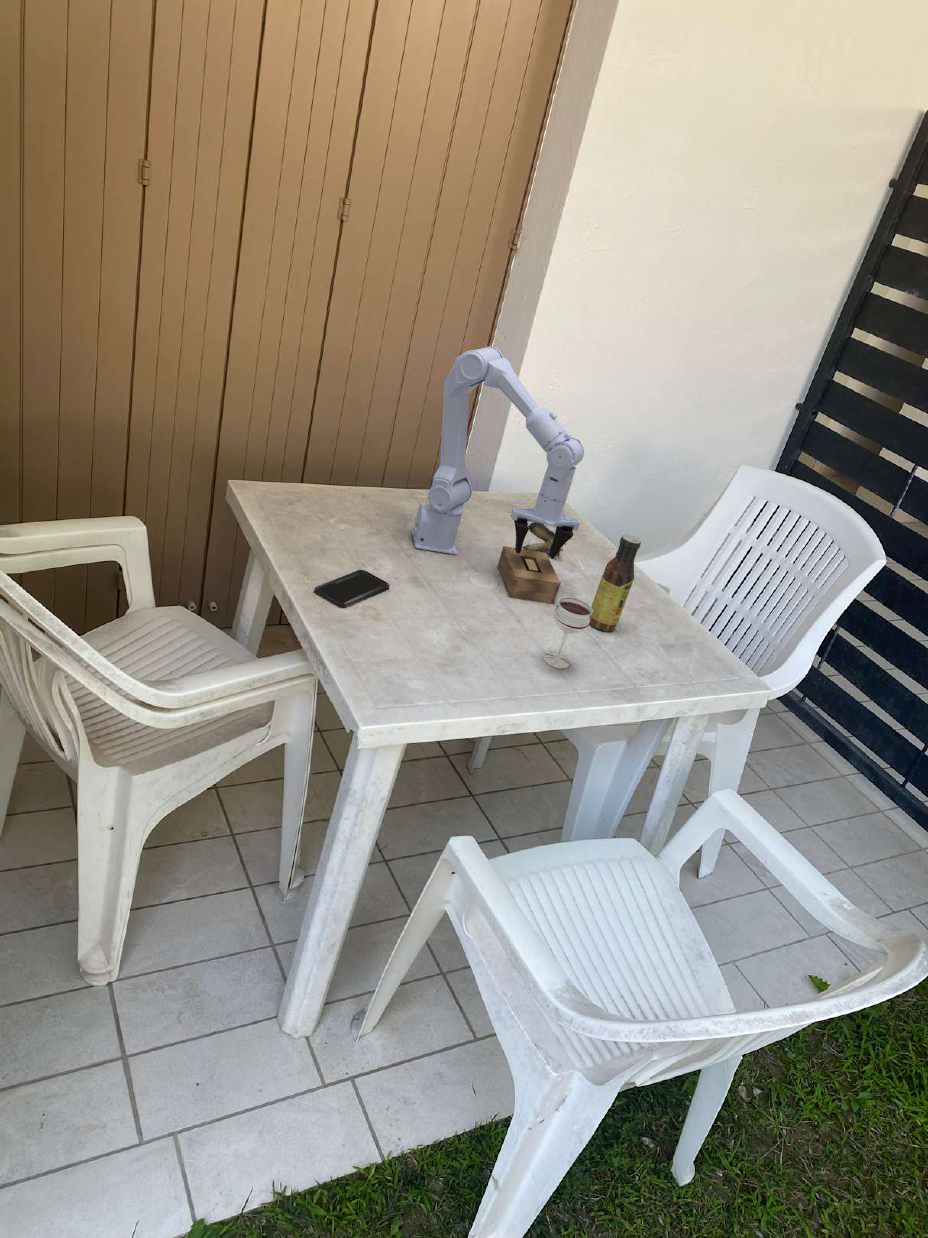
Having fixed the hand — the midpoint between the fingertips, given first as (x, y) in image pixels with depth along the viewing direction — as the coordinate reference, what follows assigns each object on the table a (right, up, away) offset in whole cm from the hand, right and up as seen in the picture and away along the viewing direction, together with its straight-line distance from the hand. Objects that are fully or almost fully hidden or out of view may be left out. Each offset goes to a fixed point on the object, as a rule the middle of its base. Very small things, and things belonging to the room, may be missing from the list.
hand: (534, 554), depth 197 cm
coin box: (-2, -6, +3) cm, 7 cm away
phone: (-37, -9, -17) cm, 41 cm away
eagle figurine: (+3, +2, +21) cm, 22 cm away
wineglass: (+2, -22, -22) cm, 31 cm away
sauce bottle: (+13, -15, -4) cm, 21 cm away
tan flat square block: (-2, -6, +4) cm, 8 cm away
